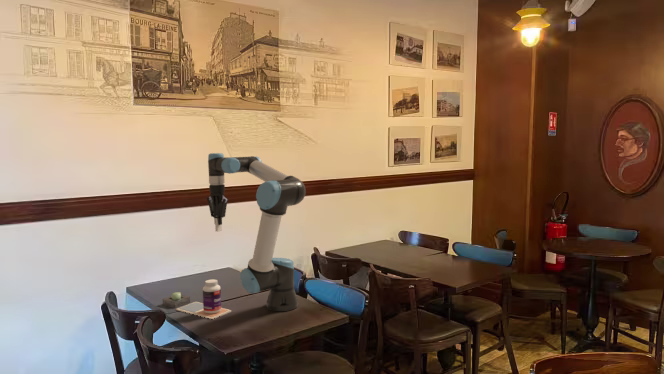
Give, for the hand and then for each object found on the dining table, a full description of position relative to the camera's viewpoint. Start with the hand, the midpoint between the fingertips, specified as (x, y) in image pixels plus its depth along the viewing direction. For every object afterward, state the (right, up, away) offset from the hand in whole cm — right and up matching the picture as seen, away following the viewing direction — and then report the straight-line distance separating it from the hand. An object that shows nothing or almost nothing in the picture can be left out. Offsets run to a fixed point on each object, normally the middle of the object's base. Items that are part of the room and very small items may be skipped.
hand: (218, 230), depth 239 cm
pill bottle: (+2, -36, -19) cm, 40 cm away
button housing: (-19, -35, -5) cm, 41 cm away
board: (-3, -36, -16) cm, 39 cm away
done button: (-19, -34, -6) cm, 40 cm away
